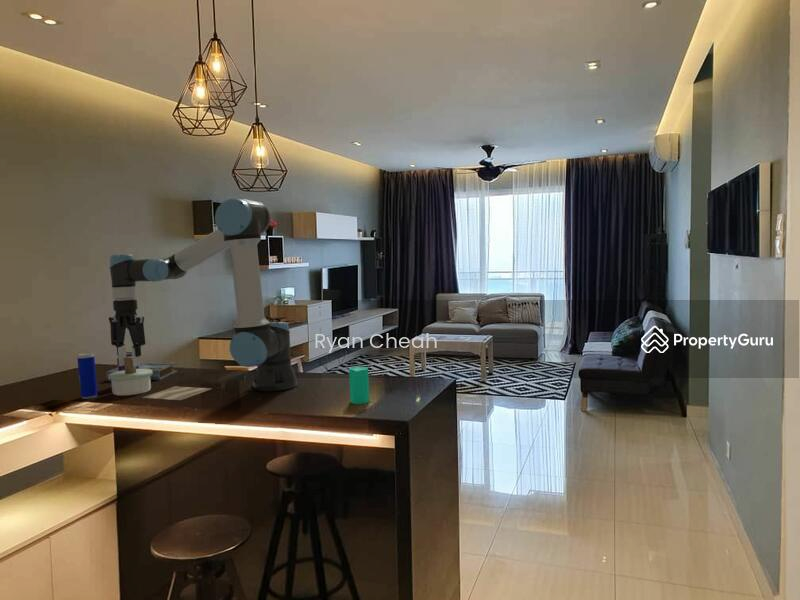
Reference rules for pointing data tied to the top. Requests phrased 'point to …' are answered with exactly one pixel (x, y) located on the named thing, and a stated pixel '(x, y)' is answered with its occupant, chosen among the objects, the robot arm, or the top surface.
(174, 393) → the trivet
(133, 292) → the robot arm
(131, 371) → the lid
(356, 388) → the candle
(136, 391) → the bowl
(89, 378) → the beverage can
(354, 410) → the top surface
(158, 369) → the book
